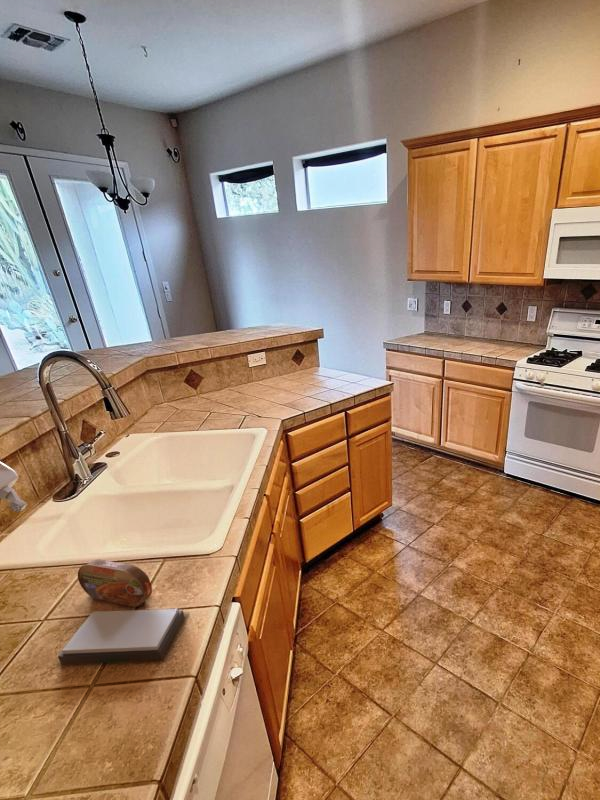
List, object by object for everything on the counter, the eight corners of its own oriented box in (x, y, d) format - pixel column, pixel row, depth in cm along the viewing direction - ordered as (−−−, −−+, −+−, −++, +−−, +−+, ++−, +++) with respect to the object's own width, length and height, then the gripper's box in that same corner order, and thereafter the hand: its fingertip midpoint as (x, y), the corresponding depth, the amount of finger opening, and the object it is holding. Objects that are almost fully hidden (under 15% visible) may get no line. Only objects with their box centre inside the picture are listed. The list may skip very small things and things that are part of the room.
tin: (83, 597, 85) (69, 563, 82) (97, 587, 88) (84, 554, 84) (147, 611, 82) (136, 576, 78) (159, 600, 85) (149, 566, 81)
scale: (62, 666, 70) (56, 653, 69) (96, 622, 79) (91, 609, 78) (162, 661, 72) (158, 648, 70) (185, 618, 81) (182, 606, 79)
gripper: (-139, 488, 61) (-35, 543, 66) (-25, 439, 79) (50, 485, 84) (-156, 516, 63) (-54, 567, 68) (-40, 461, 81) (34, 505, 86)
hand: (4, 521), depth 76 cm, fingers open, 8 cm apart
